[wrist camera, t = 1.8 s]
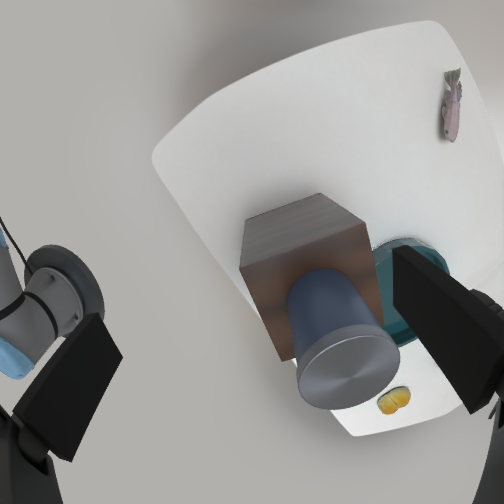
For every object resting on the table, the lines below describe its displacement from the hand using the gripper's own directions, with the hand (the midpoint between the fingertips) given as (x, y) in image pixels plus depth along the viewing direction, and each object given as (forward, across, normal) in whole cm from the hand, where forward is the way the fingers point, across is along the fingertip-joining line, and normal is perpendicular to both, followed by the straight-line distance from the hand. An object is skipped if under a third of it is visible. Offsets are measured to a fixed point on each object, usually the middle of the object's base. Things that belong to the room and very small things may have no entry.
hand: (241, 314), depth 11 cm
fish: (+31, +37, +10) cm, 49 cm away
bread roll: (+31, +24, -56) cm, 68 cm away
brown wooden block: (+31, +5, -9) cm, 33 cm away
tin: (+13, +5, -9) cm, 17 cm away
